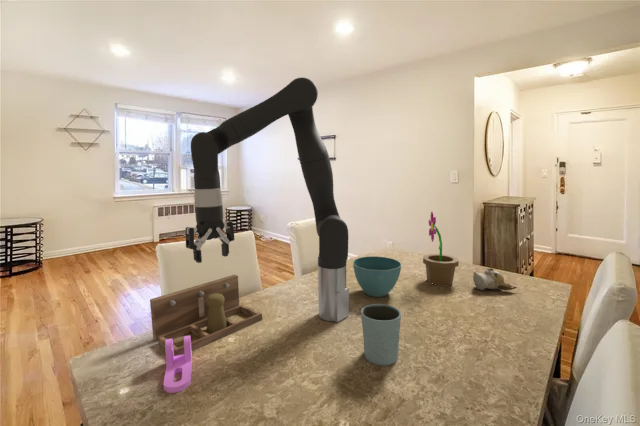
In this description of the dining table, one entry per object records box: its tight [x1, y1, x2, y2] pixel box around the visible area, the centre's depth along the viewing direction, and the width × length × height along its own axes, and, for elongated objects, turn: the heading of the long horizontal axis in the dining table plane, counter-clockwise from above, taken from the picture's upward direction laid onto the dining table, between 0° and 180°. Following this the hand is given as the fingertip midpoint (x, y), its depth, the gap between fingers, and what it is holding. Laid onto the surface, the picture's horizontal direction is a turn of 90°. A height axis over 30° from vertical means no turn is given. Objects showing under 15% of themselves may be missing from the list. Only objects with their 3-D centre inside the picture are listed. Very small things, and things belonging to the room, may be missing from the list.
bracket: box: [163, 335, 193, 394], centre depth 76 cm, size 13×6×7 cm, turn 20°
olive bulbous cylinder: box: [206, 294, 227, 334], centre depth 97 cm, size 6×6×11 cm
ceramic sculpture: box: [472, 268, 518, 291], centre depth 128 cm, size 11×9×15 cm
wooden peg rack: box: [149, 274, 263, 356], centre depth 98 cm, size 14×28×12 cm, turn 139°
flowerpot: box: [422, 211, 460, 286], centre depth 135 cm, size 14×14×30 cm
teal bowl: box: [352, 255, 402, 298], centre depth 125 cm, size 18×18×12 cm
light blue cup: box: [360, 303, 402, 366], centre depth 83 cm, size 10×10×12 cm
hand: (212, 259), depth 95 cm, fingers open, 8 cm apart
